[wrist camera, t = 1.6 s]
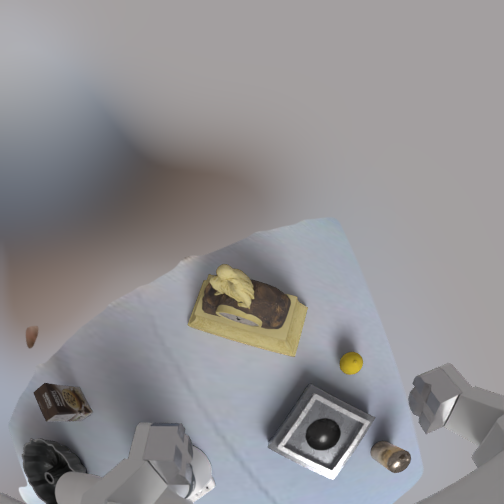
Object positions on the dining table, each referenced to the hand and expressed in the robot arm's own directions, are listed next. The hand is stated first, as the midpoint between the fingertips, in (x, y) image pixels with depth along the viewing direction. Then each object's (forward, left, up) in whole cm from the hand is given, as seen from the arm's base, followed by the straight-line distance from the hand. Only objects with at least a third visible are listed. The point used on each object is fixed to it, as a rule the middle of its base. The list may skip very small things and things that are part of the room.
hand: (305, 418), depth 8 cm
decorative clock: (+10, +17, -64) cm, 67 cm away
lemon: (+13, -11, -64) cm, 66 cm away
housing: (-5, -14, -63) cm, 65 cm away
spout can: (-3, -32, -63) cm, 71 cm away
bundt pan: (-67, +34, -64) cm, 99 cm away
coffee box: (-41, +43, -64) cm, 87 cm away
